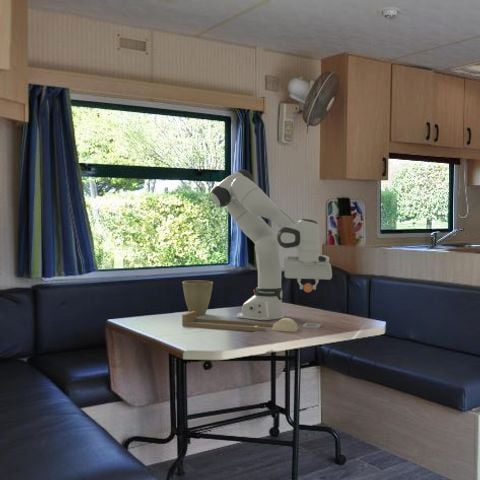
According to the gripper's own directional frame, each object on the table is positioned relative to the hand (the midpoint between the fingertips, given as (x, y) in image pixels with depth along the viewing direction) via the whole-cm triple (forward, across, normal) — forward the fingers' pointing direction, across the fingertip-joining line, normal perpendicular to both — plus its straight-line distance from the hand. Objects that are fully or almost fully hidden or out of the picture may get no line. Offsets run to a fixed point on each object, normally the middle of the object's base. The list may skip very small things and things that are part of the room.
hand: (307, 289), depth 253 cm
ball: (+1, 0, 0) cm, 1 cm away
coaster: (+17, +2, +1) cm, 17 cm away
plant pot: (+18, -54, +26) cm, 63 cm away
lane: (+22, -28, -4) cm, 36 cm away
